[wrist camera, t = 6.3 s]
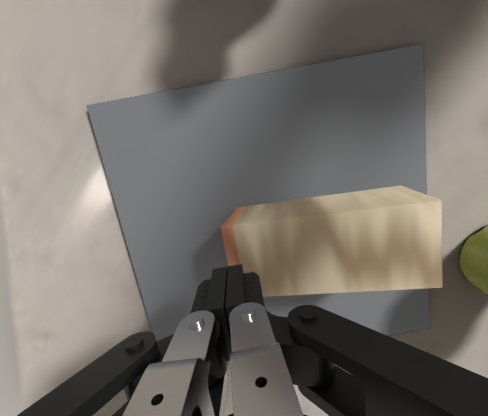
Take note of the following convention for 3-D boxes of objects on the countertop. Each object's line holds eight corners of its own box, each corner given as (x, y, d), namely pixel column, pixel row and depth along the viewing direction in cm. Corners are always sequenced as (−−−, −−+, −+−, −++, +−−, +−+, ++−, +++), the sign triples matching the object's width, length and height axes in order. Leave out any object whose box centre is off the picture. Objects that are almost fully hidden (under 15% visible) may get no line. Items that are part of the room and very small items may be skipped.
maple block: (220, 226, 16) (441, 200, 13) (237, 207, 20) (401, 185, 18) (235, 298, 17) (442, 287, 14) (247, 263, 21) (404, 251, 19)
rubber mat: (90, 106, 19) (86, 105, 18) (418, 46, 19) (423, 43, 18) (166, 371, 24) (164, 375, 23) (426, 324, 24) (430, 328, 23)
